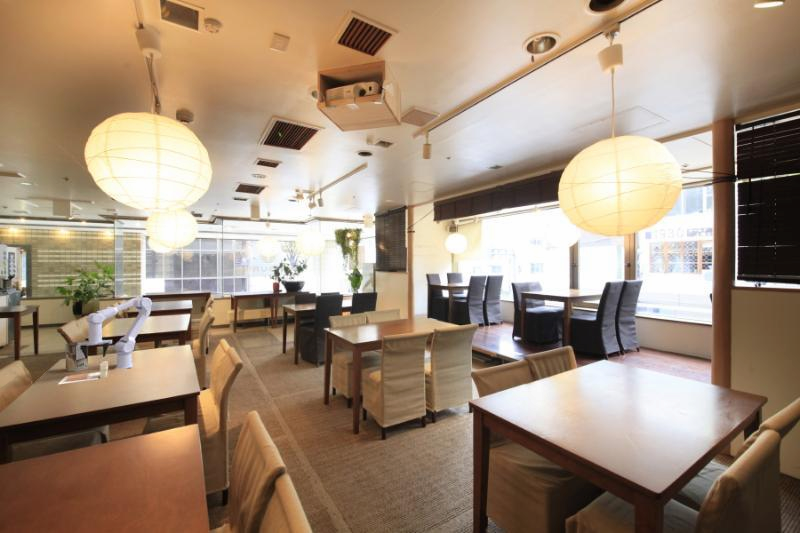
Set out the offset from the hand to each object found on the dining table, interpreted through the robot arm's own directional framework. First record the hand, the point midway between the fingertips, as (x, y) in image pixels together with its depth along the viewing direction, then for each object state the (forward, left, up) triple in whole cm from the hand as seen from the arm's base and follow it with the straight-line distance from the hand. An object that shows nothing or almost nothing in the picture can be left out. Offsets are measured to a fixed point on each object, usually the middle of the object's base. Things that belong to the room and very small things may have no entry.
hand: (95, 357), depth 194 cm
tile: (+3, -6, -8) cm, 10 cm away
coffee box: (-15, -11, -10) cm, 21 cm away
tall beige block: (+7, +5, -10) cm, 13 cm away
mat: (+5, -5, -10) cm, 12 cm away
